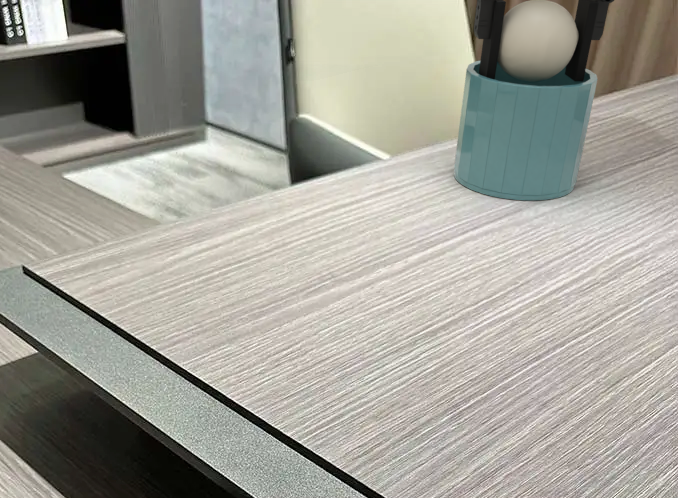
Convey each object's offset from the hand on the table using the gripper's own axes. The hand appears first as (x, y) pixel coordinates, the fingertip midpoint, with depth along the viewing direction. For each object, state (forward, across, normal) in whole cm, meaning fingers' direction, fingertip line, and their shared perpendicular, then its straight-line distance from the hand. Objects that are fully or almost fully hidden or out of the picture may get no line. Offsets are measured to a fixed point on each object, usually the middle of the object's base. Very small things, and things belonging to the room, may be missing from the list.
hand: (530, 76), depth 73 cm
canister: (+9, 0, 0) cm, 9 cm away
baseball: (0, 0, 0) cm, 1 cm away
